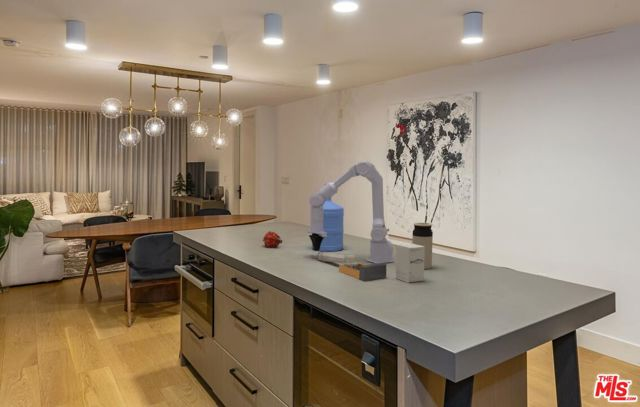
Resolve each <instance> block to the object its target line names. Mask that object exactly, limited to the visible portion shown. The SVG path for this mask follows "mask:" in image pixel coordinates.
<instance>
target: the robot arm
mask: <svg viewBox="0 0 640 407" xmlns="http://www.w3.org/2000/svg"><path fill="white" fill-rule="evenodd" d="M359 176H361V177H362V178H365V179H366V180H368V181H369V182H370V183H371V195H372V196H371V198H372V199H371V200H372V202H371V203H372V229H371V231H370V237H371V239H370V242H369V243H370V244H369V245H370V249H369V251H370V252H369V258H366V259H365V261H367V262H370V263H371V264H377V263H383V264H388V263H394V262H395V260H394V246H393V243H392V242H391V240H388V239H387V238H386V236H387V235H388V229H387V227H386V224H385V215H384V214H385V212H384V211H385V209H384V206H385V205H384V178H383V176H382V174H381V173H380V171H378V169H377V167H376V165H374V164H373V163H371V162H370V161H368V160H367V161H366V160H360V161H359V162H357V163H356V164H354V165H352V166H351V167H350V168H348V169H347V170H346V171H345V172H344V173H342V174H341V175H340V176H339V177H338V178H337V179H335V180H334V182H332V181H328V182H325V183H324V184H323V187H321V188H319V189H317V190H316V191H315V192H316V193H312V195H311V196H310V197H309V199H308V200H309V203H310V227H309V228H308V227H307V229H306V232H307V233H309V236H308V237H309V238H310V241H311V245H312V244H313V248H312V250H313V251H314V252H320V251H319V250H320V246H321V243H322V240H323V239H324V237H327V232H325V231H324V230H323V204H324V203H325V201H327V200H328V199H329V198H331V199H332V197H333V196H334V195H336V194H337V193H338V192H339V191H338V190H339V188H340V187H341V186H342V185H344V184H346V183H347V182H348V181H349V180H351V179H352V178H354V177H359Z"/></svg>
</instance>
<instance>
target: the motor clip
mask: <svg viewBox="0 0 640 407" xmlns="http://www.w3.org/2000/svg"><path fill="white" fill-rule="evenodd" d="M357 263H358V265H357V268H358V270H355V269H353V268H350V267H347V266H344V264H339V265H338V271H339V272H340V273H343V274H346V275H348V276H350V277H353V278H356V279H358V280H360V281H363V282H369V281H374V280H382V279H386V278H387V263H377V264H376V263H371V264H365V263H361V262H357Z"/></svg>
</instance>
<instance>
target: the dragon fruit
mask: <svg viewBox="0 0 640 407" xmlns="http://www.w3.org/2000/svg"><path fill="white" fill-rule="evenodd" d="M262 242H264V247H269V248H272V249H273V248H275V247H278V246H279V245H280V244H282V243H283V240H282V238H281V236H279V235H278V233H276V232H275V231H272V230H271V231H268V232H266V233H265V234H264V236H263V239H262Z"/></svg>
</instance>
